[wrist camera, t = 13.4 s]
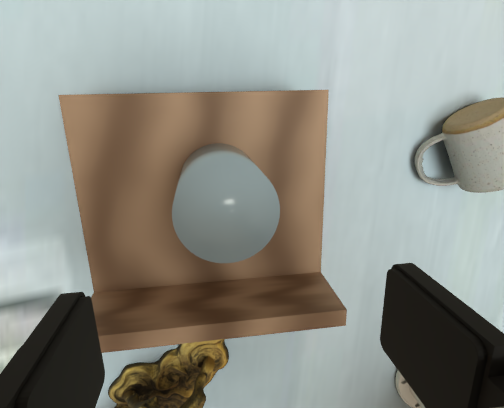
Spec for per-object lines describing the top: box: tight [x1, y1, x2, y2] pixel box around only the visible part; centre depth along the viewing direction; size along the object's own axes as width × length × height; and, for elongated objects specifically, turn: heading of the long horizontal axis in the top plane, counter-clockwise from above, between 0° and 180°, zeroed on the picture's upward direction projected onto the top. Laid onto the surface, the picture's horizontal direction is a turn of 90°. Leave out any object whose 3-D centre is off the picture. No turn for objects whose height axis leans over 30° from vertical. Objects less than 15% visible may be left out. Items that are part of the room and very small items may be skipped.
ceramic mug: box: [414, 98, 504, 193], centre depth 37 cm, size 11×8×8 cm
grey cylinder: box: [172, 143, 280, 263], centre depth 24 cm, size 6×6×8 cm
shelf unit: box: [59, 90, 347, 353], centre depth 30 cm, size 20×17×16 cm
